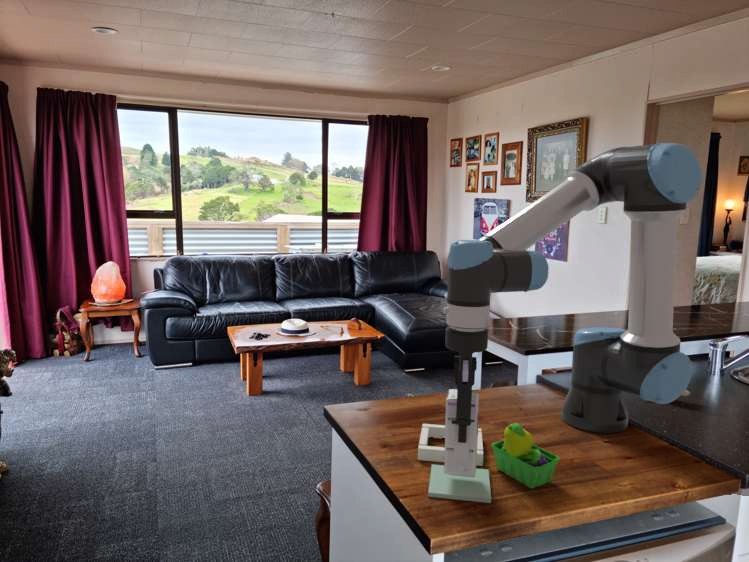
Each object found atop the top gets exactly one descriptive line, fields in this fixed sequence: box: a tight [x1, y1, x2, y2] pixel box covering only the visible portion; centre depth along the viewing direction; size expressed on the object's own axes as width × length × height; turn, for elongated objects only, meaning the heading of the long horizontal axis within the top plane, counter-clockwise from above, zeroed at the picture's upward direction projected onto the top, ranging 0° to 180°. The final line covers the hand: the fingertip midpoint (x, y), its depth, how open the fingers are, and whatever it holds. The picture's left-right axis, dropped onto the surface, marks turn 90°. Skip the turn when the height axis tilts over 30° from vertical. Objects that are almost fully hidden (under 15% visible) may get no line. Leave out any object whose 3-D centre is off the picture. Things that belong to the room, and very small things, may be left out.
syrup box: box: [443, 388, 479, 478], centre depth 103 cm, size 6×6×14 cm
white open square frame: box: [417, 423, 484, 467], centre depth 119 cm, size 13×13×2 cm
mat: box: [427, 463, 492, 504], centre depth 104 cm, size 11×11×1 cm
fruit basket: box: [491, 422, 561, 489], centre depth 108 cm, size 11×9×11 cm
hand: (461, 449), depth 104 cm, fingers closed on syrup box, 6 cm apart
